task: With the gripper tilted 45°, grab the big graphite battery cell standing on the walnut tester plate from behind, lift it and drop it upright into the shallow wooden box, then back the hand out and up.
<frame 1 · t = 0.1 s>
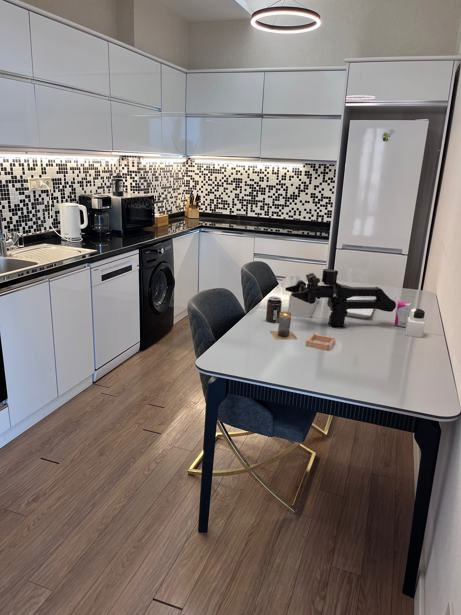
hand: (288, 291, 210), 17 cm above the table, tool horizontal, fingers open, 9 cm apart
beverage can: (272, 322, 219), on the table
battery cell: (283, 335, 201), point 1 cm above the table, touching tester plate
tray: (356, 311, 245), on the table
supplement box: (400, 325, 225), on the table
tester plate: (283, 336, 201), on the table
long white box: (303, 308, 243), on the table
shallow wooden box: (320, 346, 193), on the table
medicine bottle: (413, 334, 213), on the table
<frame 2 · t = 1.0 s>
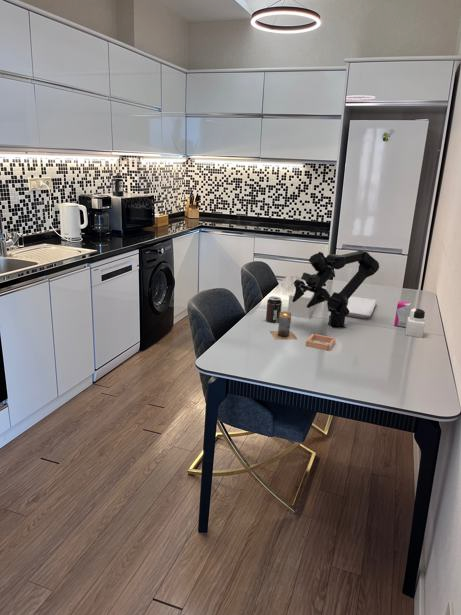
hand: (299, 304, 201), 14 cm above the table, tool tilted 45°, fingers open, 9 cm apart
nothing on the table moved.
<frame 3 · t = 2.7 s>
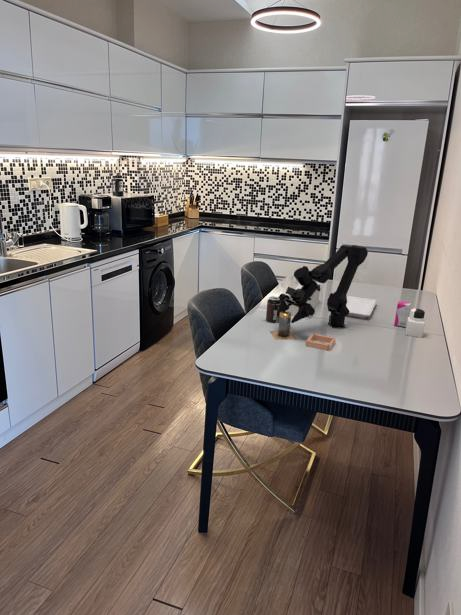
hand: (284, 319, 198), 8 cm above the table, tool tilted 45°, fingers open, 9 cm apart
nothing on the table moved.
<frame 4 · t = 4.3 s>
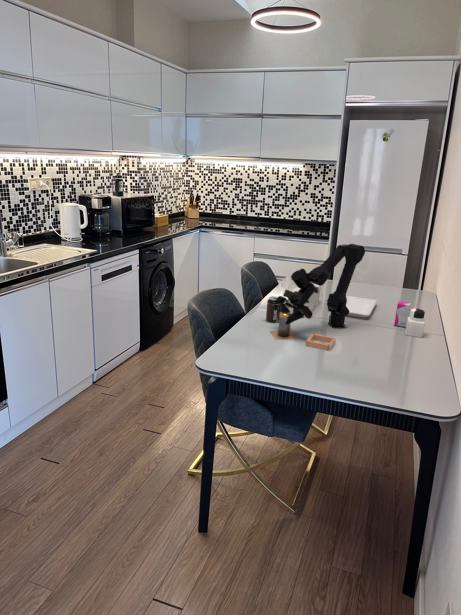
hand: (282, 322, 198), 7 cm above the table, tool tilted 45°, fingers closed on battery cell, 5 cm apart
battery cell: (283, 335, 201), point 1 cm above the table, touching gripper, tester plate
everything else where it was.
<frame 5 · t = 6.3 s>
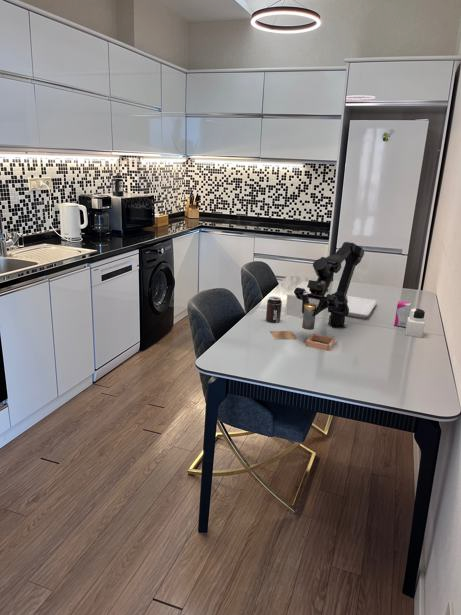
hand: (308, 314, 190), 13 cm above the table, tool tilted 45°, fingers closed on battery cell, 5 cm apart
battery cell: (308, 327, 193), point 7 cm above the table, touching gripper
everything else where it was.
when the fingers open (8 cm above the table, at t = 8.8 s): battery cell drops 1 cm, resting on shallow wooden box.
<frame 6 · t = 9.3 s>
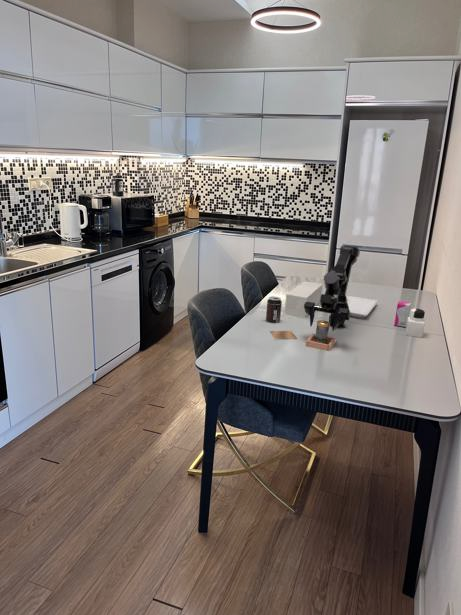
hand: (321, 328, 189), 8 cm above the table, tool tilted 45°, fingers open, 9 cm apart
battery cell: (320, 344, 193), point 1 cm above the table, touching shallow wooden box
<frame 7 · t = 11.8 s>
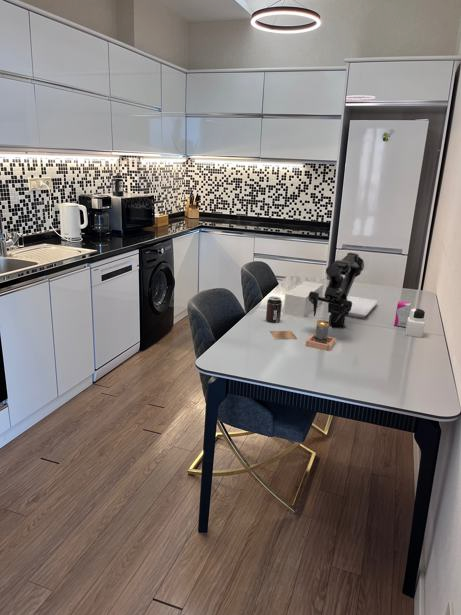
hand: (324, 318, 198), 9 cm above the table, tool tilted 40°, fingers open, 9 cm apart
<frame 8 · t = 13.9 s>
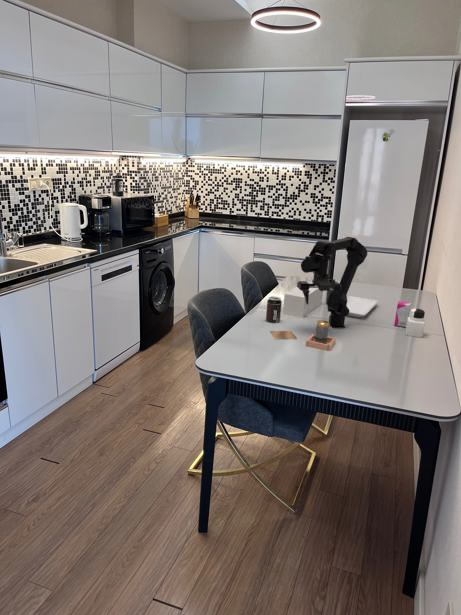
hand: (317, 304, 205), 13 cm above the table, tool pointing down, fingers open, 9 cm apart
at the end: battery cell 0.0 cm off-centre on the shallow wooden box, point 0.6 cm above the shallow wooden box's base; battery cell tilted 0°; the gripper is holding nothing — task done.
